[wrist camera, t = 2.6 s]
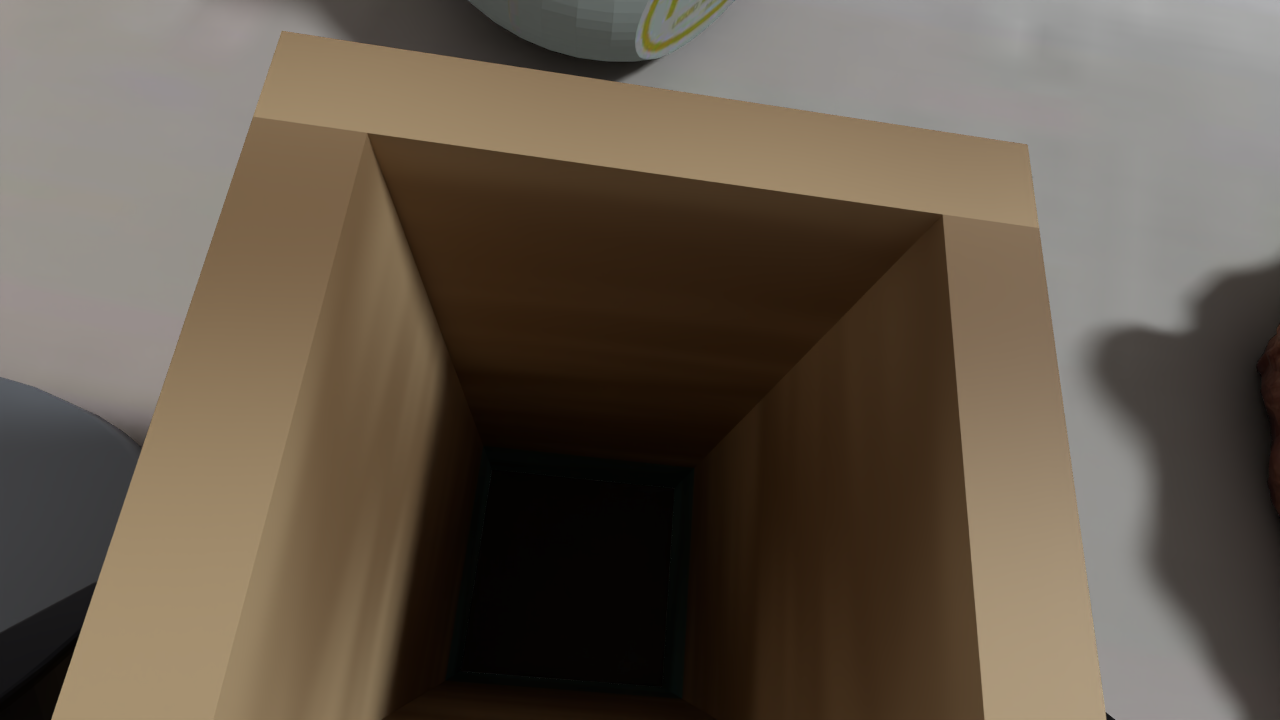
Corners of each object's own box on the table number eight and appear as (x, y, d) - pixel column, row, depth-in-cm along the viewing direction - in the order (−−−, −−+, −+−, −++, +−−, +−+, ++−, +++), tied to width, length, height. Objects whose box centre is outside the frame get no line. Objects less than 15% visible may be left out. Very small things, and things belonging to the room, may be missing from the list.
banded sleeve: (695, 729, 15) (1154, 1076, 4) (415, 709, 15) (-56, 1036, 3) (708, 459, 18) (1026, 143, 6) (463, 433, 17) (281, 30, 5)
